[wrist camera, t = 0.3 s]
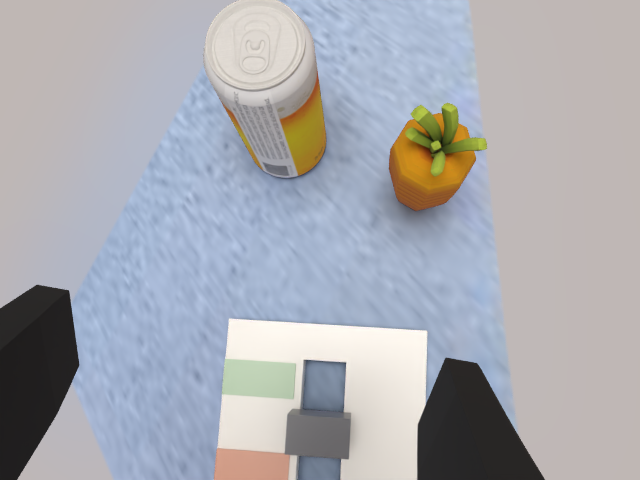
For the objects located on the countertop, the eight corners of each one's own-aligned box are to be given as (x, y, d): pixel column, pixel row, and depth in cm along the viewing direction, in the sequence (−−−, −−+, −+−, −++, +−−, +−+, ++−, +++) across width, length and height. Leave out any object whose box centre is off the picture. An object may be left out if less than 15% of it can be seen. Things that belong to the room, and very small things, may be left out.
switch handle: (349, 444, 38) (348, 459, 34) (292, 440, 39) (284, 454, 34) (351, 409, 39) (350, 418, 34) (295, 405, 39) (287, 414, 34)
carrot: (460, 205, 41) (519, 130, 27) (407, 243, 41) (438, 188, 26) (420, 155, 42) (456, 56, 28) (368, 191, 42) (376, 111, 27)
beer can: (328, 108, 43) (316, -10, 29) (324, 182, 42) (309, 97, 28) (253, 106, 44) (203, -11, 29) (247, 179, 43) (192, 95, 28)
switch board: (418, 506, 38) (422, 516, 36) (219, 489, 39) (212, 498, 37) (423, 331, 40) (427, 330, 38) (235, 319, 41) (228, 318, 39)
